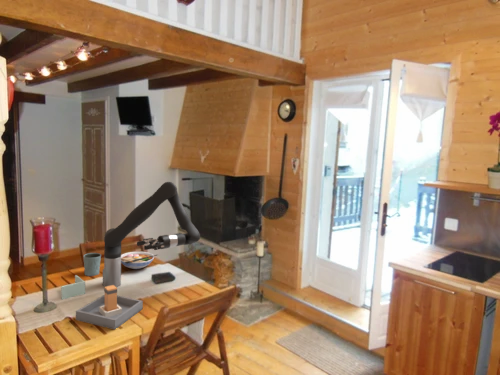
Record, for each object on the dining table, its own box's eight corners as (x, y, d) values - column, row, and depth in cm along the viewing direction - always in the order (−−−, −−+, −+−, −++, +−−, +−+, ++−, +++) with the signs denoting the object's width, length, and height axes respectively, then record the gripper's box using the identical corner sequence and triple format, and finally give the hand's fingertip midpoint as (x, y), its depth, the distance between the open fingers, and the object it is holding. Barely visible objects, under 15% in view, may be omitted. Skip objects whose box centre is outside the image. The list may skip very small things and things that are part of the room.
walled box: (75, 319, 174) (75, 311, 173) (106, 301, 195) (106, 293, 194) (115, 329, 168) (115, 320, 167) (142, 309, 189) (142, 300, 188)
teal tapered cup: (79, 274, 228) (79, 256, 226) (91, 269, 237) (91, 251, 235) (93, 277, 225) (93, 258, 223) (104, 272, 234) (104, 253, 233)
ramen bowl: (142, 258, 262) (142, 247, 261) (162, 267, 248) (162, 255, 247) (110, 267, 243) (110, 255, 242) (129, 276, 229) (129, 264, 228)
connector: (107, 315, 178) (107, 290, 176) (104, 311, 181) (104, 286, 179) (117, 312, 181) (117, 287, 179) (113, 309, 184) (113, 284, 183)
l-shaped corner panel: (76, 287, 211) (76, 275, 210) (85, 294, 202) (85, 281, 201) (54, 293, 202) (54, 280, 201) (62, 300, 194) (62, 287, 193)
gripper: (161, 232, 211) (134, 235, 200) (174, 237, 201) (147, 242, 190) (161, 244, 212) (134, 249, 201) (174, 251, 202) (146, 256, 191)
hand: (140, 245), depth 196 cm, fingers open, 8 cm apart
